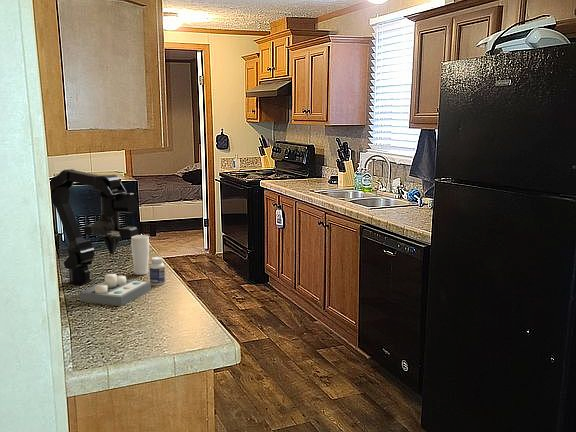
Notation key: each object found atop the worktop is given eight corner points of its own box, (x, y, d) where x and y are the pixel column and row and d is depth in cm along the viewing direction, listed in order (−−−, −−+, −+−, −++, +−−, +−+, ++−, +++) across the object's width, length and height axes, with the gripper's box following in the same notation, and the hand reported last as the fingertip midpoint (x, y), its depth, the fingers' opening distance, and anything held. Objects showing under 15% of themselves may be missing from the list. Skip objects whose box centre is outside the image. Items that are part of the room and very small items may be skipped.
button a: (92, 298, 180) (92, 287, 179) (100, 294, 184) (99, 283, 183) (103, 299, 179) (102, 288, 178) (110, 295, 183) (109, 285, 182)
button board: (79, 301, 180) (79, 291, 179) (112, 286, 197) (111, 277, 196) (121, 306, 175) (121, 296, 175) (150, 290, 192) (150, 281, 192)
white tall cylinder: (128, 274, 212) (127, 237, 209) (139, 270, 218) (138, 234, 215) (143, 276, 209) (141, 238, 207) (153, 272, 215) (152, 235, 213)
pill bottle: (161, 286, 197) (160, 260, 196) (147, 285, 198) (146, 259, 197) (167, 282, 203) (166, 256, 201) (153, 281, 204) (153, 256, 202)
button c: (112, 288, 190) (112, 278, 190) (119, 285, 194) (118, 275, 194) (122, 289, 189) (121, 279, 189) (128, 286, 193) (128, 276, 192)
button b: (102, 287, 185) (102, 276, 184) (109, 283, 189) (109, 273, 188) (112, 288, 184) (112, 277, 183) (119, 284, 187) (119, 274, 187)
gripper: (72, 213, 185) (75, 257, 187) (119, 216, 179) (121, 261, 182) (93, 208, 195) (95, 250, 198) (138, 211, 190) (139, 254, 193)
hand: (112, 254), depth 192 cm, fingers closed
